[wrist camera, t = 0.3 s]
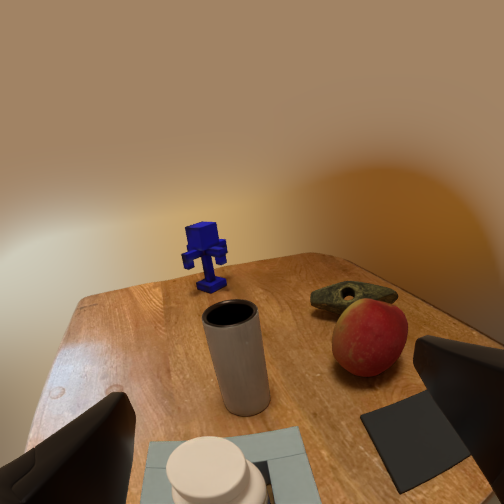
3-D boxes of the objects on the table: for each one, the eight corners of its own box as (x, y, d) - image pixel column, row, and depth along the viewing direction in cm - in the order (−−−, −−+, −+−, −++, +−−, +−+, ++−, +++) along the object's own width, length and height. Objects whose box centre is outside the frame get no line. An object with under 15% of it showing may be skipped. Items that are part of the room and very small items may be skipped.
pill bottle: (279, 543, 11) (267, 504, 8) (200, 549, 11) (147, 509, 8) (268, 486, 16) (252, 421, 14) (199, 493, 16) (158, 429, 13)
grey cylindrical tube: (272, 413, 24) (259, 322, 21) (224, 418, 24) (198, 330, 21) (268, 382, 28) (255, 295, 25) (225, 387, 28) (204, 302, 25)
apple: (413, 379, 24) (427, 312, 21) (338, 397, 24) (341, 330, 22) (388, 340, 31) (394, 279, 29) (324, 352, 32) (323, 290, 29)
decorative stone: (331, 339, 34) (330, 303, 32) (307, 312, 41) (305, 280, 39) (400, 314, 36) (403, 280, 34) (370, 293, 43) (371, 263, 41)
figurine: (232, 277, 58) (222, 217, 54) (231, 293, 51) (220, 225, 47) (194, 282, 58) (183, 223, 54) (189, 298, 51) (175, 232, 47)
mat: (487, 443, 13) (489, 441, 13) (399, 494, 13) (400, 492, 13) (439, 386, 22) (440, 383, 22) (360, 417, 21) (360, 415, 21)
